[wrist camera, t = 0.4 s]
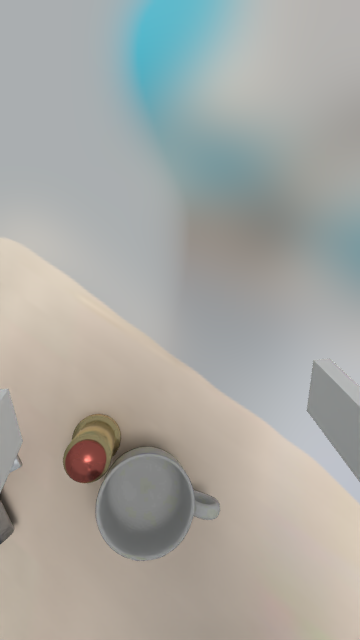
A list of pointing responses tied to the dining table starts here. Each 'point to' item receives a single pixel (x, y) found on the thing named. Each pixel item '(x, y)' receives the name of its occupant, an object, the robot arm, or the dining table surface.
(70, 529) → the dining table surface
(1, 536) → the flange seat
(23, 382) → the dining table surface
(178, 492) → the teacup
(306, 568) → the dining table surface
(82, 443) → the cylinder
